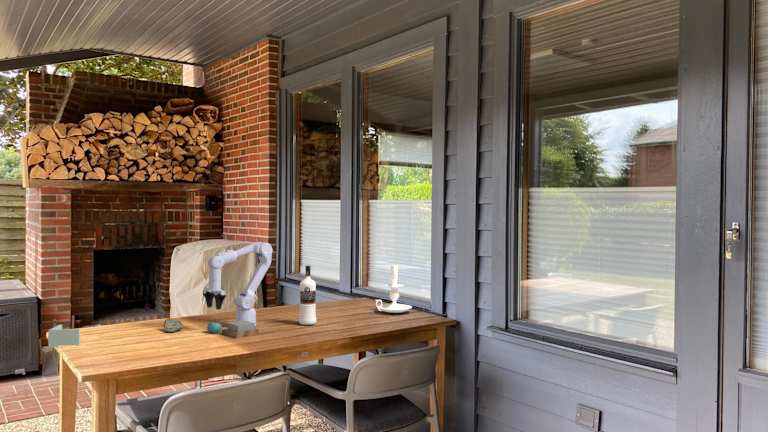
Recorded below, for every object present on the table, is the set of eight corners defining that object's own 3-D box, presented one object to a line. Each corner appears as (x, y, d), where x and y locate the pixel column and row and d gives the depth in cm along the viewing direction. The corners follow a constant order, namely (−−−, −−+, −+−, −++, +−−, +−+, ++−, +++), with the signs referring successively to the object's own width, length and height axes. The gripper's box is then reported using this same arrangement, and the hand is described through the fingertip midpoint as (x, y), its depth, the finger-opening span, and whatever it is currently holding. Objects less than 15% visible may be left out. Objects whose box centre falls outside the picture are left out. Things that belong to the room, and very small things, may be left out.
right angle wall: (78, 346, 246) (78, 329, 246) (48, 347, 244) (48, 330, 244) (88, 340, 258) (88, 323, 258) (59, 341, 256) (59, 324, 256)
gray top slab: (244, 326, 280) (244, 320, 280) (254, 329, 273) (254, 323, 273) (227, 329, 273) (227, 322, 273) (237, 332, 267) (237, 325, 267)
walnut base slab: (243, 331, 282) (243, 325, 282) (258, 335, 274) (258, 329, 274) (221, 335, 272) (221, 329, 272) (236, 339, 265) (236, 333, 265)
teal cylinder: (211, 319, 278) (217, 321, 274) (217, 326, 280) (223, 327, 277) (205, 327, 275) (211, 329, 272) (211, 334, 277) (217, 335, 274)
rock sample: (159, 324, 270) (168, 310, 277) (156, 333, 275) (165, 319, 282) (179, 334, 272) (188, 320, 278) (176, 342, 276) (185, 328, 283)
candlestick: (363, 312, 333) (364, 263, 333) (395, 307, 349) (395, 261, 349) (387, 317, 318) (387, 266, 317) (419, 312, 334) (419, 264, 334)
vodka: (318, 321, 304) (318, 264, 304) (314, 325, 295) (314, 266, 295) (301, 321, 305) (301, 264, 305) (296, 324, 296) (297, 266, 296)
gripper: (199, 279, 284) (198, 307, 284) (216, 282, 275) (215, 311, 275) (211, 278, 290) (211, 305, 290) (228, 281, 280) (228, 309, 280)
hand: (214, 308), depth 283 cm, fingers open, 7 cm apart
